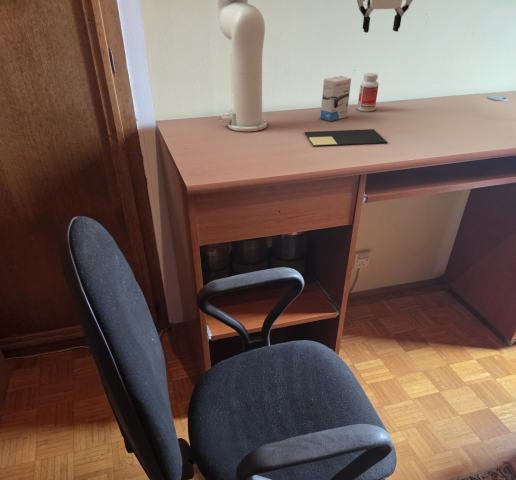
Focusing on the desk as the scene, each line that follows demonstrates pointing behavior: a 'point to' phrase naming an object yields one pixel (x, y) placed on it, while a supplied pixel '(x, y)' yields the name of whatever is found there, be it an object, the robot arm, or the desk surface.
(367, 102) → the pill bottle
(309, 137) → the desk mat
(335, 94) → the ink box
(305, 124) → the desk surface
